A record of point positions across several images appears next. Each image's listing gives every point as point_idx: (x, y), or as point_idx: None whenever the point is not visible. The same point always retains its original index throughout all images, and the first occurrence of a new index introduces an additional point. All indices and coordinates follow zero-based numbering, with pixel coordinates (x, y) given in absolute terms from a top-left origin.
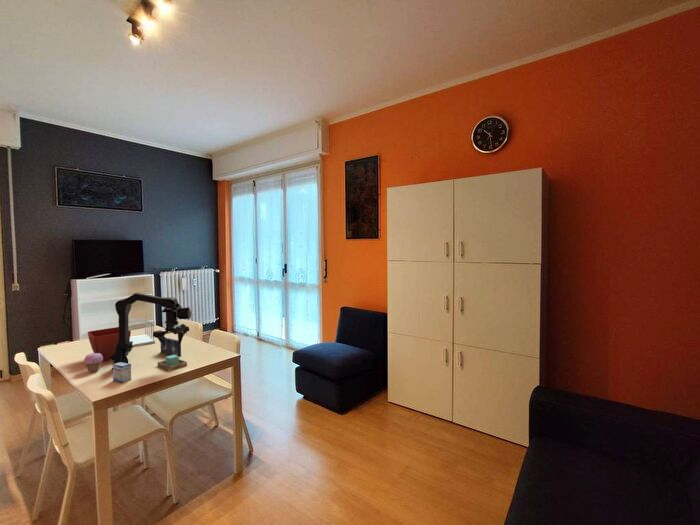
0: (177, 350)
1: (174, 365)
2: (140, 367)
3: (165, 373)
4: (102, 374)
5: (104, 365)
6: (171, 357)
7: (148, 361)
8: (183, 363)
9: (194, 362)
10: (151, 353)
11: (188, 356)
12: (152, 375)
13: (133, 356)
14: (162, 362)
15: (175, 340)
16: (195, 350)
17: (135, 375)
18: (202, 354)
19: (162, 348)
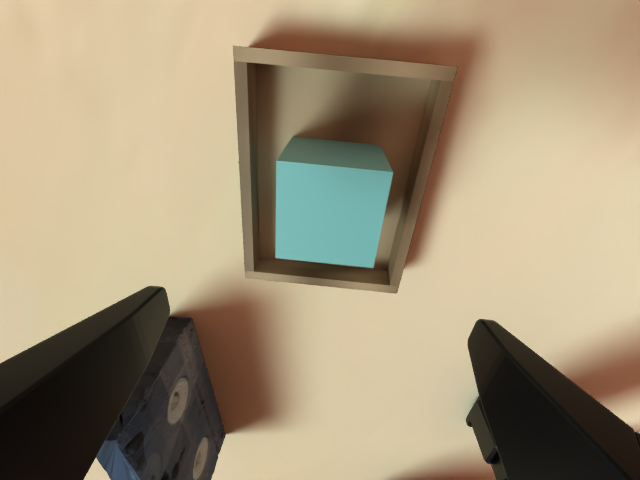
0: (167, 360)
1: (393, 61)
2: (455, 340)
3: (522, 24)
4: (620, 401)
5: (489, 473)
6: (357, 191)
7: (352, 383)
8: (279, 50)
9: (145, 71)
10: (262, 452)
11: (127, 268)
12: (604, 99)
13: (338, 473)
14: (359, 276)
15: (120, 472)
16: (43, 330)
17: (620, 235)
18: (13, 216)
19: (212, 455)
